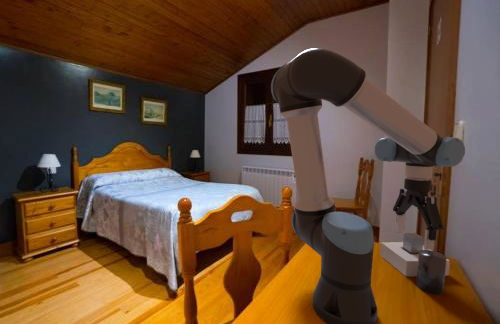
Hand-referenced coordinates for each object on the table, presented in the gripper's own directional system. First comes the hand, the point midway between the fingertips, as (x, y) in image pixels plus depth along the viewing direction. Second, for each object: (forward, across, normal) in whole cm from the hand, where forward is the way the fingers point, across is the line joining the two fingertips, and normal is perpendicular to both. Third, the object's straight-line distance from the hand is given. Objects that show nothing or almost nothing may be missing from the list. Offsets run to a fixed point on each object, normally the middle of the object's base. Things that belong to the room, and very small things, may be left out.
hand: (413, 240), depth 84 cm
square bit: (+8, 0, 0) cm, 8 cm away
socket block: (+9, 0, 0) cm, 9 cm away
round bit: (+9, -13, +4) cm, 16 cm away
